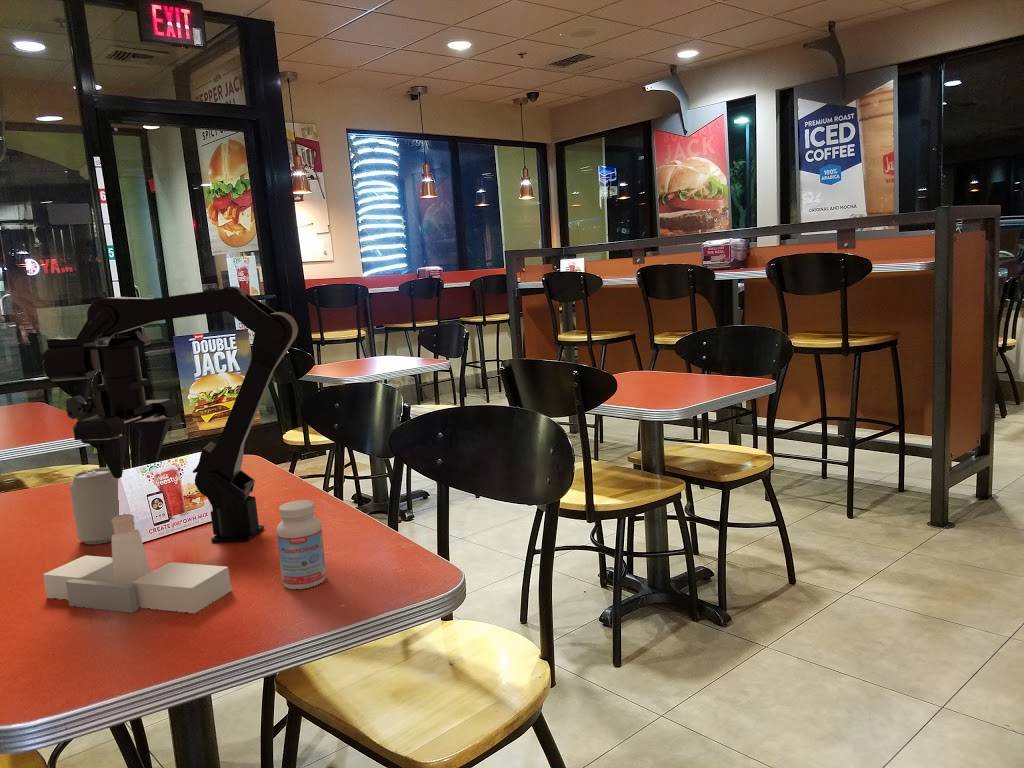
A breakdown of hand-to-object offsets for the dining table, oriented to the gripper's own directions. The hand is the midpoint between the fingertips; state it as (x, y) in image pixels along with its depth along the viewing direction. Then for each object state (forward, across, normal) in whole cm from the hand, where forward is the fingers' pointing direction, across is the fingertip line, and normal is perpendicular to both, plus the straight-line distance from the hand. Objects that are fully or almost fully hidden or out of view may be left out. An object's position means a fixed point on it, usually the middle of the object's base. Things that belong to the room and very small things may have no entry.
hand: (136, 469), depth 124 cm
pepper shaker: (+13, +18, +10) cm, 24 cm away
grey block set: (+13, +20, +11) cm, 26 cm away
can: (+13, -4, -11) cm, 18 cm away
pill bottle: (+13, +15, +34) cm, 39 cm away
